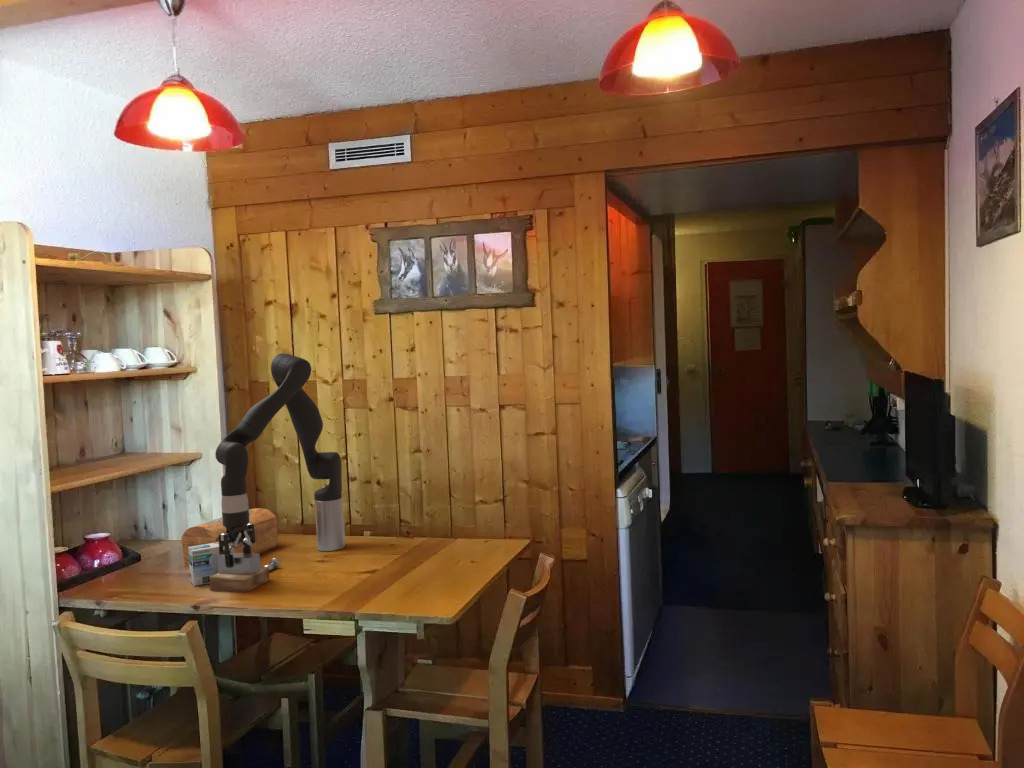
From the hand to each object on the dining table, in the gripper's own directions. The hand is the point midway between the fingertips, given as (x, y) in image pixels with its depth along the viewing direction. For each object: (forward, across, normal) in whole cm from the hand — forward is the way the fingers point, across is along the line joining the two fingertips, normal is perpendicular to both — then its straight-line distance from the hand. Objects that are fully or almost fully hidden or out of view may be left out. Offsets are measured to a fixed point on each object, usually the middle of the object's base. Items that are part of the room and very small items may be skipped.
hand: (238, 563), depth 241 cm
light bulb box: (+7, +3, +13) cm, 15 cm away
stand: (+7, 0, 0) cm, 7 cm away
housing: (+3, 0, 0) cm, 3 cm away
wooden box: (+7, +30, +23) cm, 38 cm away
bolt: (+7, +15, 0) cm, 16 cm away
